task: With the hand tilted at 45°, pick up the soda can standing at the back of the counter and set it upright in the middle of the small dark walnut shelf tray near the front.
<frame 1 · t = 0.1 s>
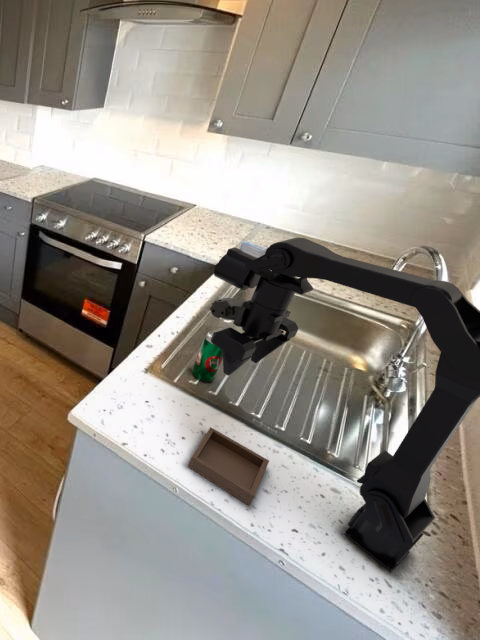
hand: (240, 367, 86), 15 cm above the worktop, tool pointing down, fingers open, 9 cm apart
shelf tray: (226, 467, 82), on the worktop
medicine box: (247, 265, 165), on the worktop
soda can: (202, 376, 105), on the worktop
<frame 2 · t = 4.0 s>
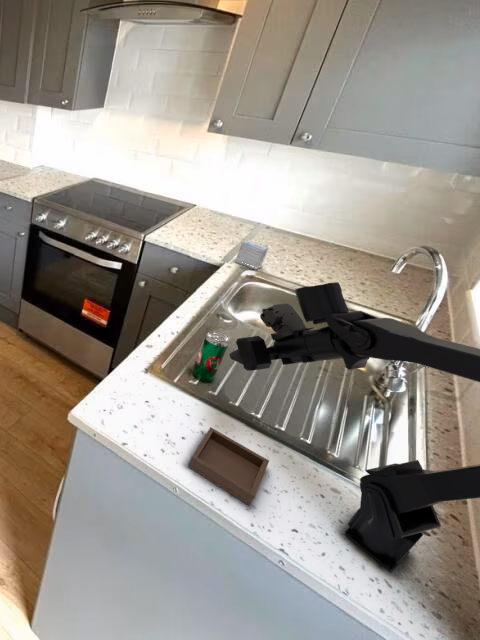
hand: (247, 353, 92), 13 cm above the worktop, tool tilted 45°, fingers open, 9 cm apart
nothing on the worktop moved.
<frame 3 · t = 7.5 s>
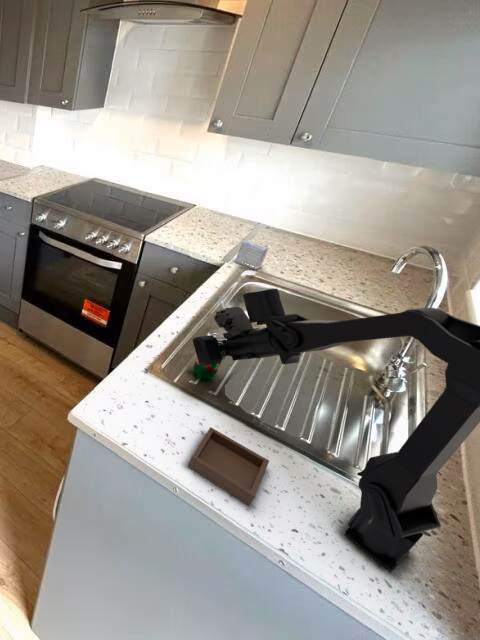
hand: (206, 351, 103), 7 cm above the worktop, tool tilted 45°, fingers closed on soda can, 5 cm apart
soda can: (202, 376, 105), on the worktop, touching gripper
everything else where it was.
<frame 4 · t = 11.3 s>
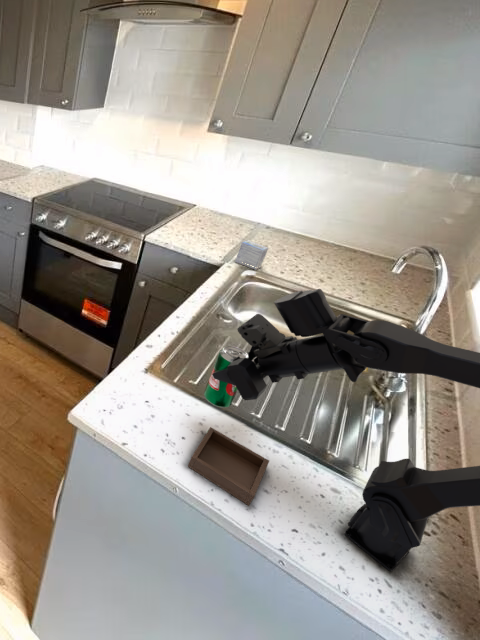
hand: (219, 370, 85), 15 cm above the worktop, tool tilted 45°, fingers closed on soda can, 5 cm apart
soda can: (216, 400, 87), point 8 cm above the worktop, touching gripper
everything else where it was.
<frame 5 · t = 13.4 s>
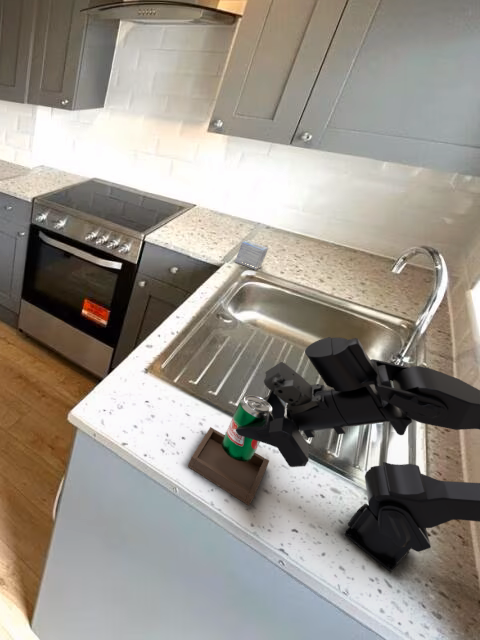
hand: (239, 422, 77), 11 cm above the worktop, tool tilted 45°, fingers closed on soda can, 5 cm apart
soda can: (235, 452, 80), point 4 cm above the worktop, touching gripper
everything else where it was.
when the fingers open (7 cm above the worktop, at t = 15.0 s): soda can stays where it is, resting on shelf tray.
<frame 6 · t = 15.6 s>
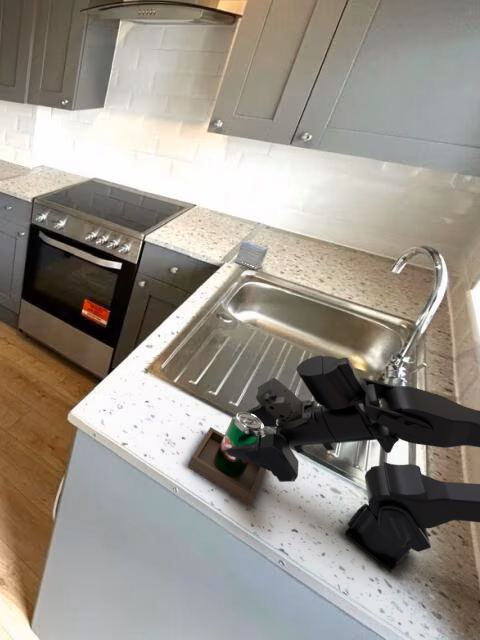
hand: (231, 435, 79), 8 cm above the worktop, tool tilted 45°, fingers open, 9 cm apart
soda can: (227, 467, 81), resting on shelf tray
everything else where it was.
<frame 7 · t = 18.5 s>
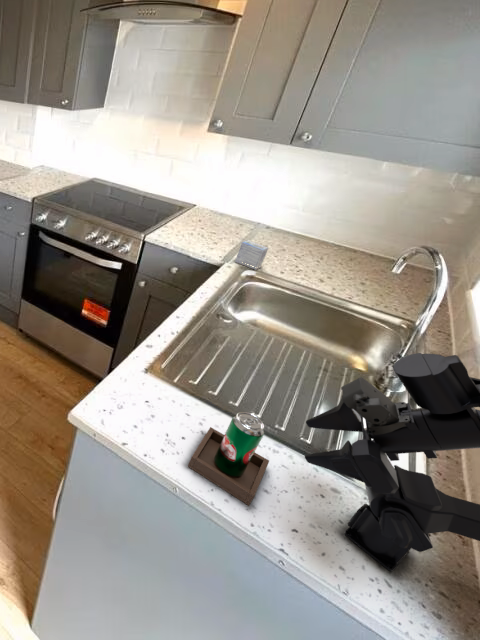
hand: (306, 440, 72), 14 cm above the worktop, tool tilted 45°, fingers open, 9 cm apart
nothing on the worktop moved.
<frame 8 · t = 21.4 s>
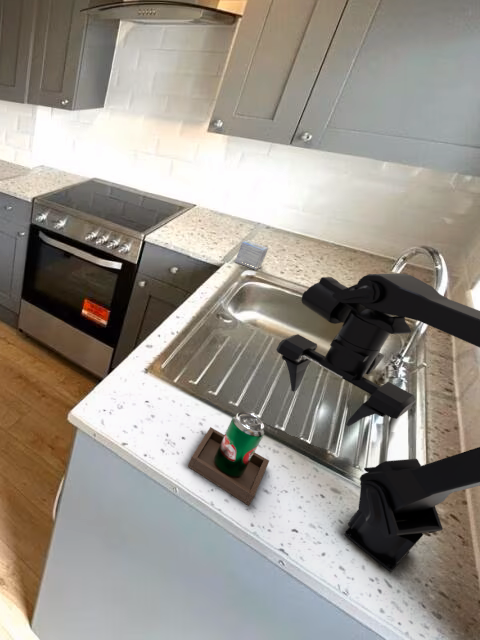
hand: (320, 407, 80), 13 cm above the worktop, tool pointing down, fingers open, 9 cm apart
nothing on the worktop moved.
at the end: soda can 0.1 cm off-centre in the shelf tray, point 0.4 cm above the shelf tray's base; soda can tilted 0°; the gripper is holding nothing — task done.
